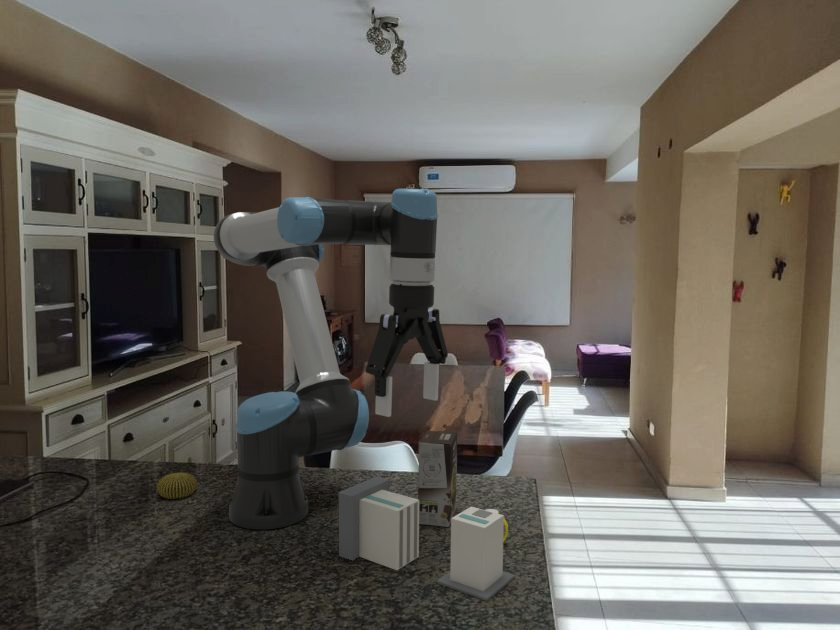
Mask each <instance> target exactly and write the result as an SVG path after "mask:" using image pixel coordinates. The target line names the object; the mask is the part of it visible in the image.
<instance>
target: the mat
mask: <svg viewBox="0 0 840 630" xmlns="http://www.w3.org/2000/svg"><path fill="white" fill-rule="evenodd" d="M515 578H516V575H515V574H513V573H510V572H509V571H504V570H503V574H502V577H501V578H499V579H498V580H497V581H496V582H494V583H493V584H492V585H491V586H489V587H488V588H487V589H486V590H485V591H481V590H478V589H475V588H472V587H469V586H467V585H464V584H461V583H458V582H455V581H452V580H450V571H448V572H447V573H446V574H444V575H443V576H442V577H440V578H439V579H437V580H436V583H437V584H439V585H441V586H444V587H447V588H449V589H452V590H456V591H458V592H459V593H460V592H461V593H462V594H466V595H469V596H471V597H473V598H476V599H479V600H483V601H484V602H488V601H489V600H490V599H492V598H493V597H494V596H495V595H496V594H498V592H500V591H501V590H502V589H503V588H504V587H506V586H507V585H508V584H509V583H510V582H512V581H513V580H514V579H515Z"/></svg>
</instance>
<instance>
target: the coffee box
mask: <svg viewBox="0 0 840 630" xmlns="http://www.w3.org/2000/svg"><path fill="white" fill-rule="evenodd" d="M457 462H458V432H457V431H450V430H449V431H448V430H447V431H446V430H426V432H425V433H424V434H423V436H422V437H421V438H420V440H419V441H418V471H417V472H418V474H417V475H418V476H417V477H418V481H417V482H418V485H417V486H418V487H417V496H418V497H417V499H418V500H419V525H425V526H436V527H444V528H449V527H451V518H453V517H454V516H455V513H456V511H457V482H458V481H457V476H458V474H457V471H458V470H457V467H458V466H457V465H458V463H457Z"/></svg>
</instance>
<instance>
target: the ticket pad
mask: <svg viewBox="0 0 840 630" xmlns="http://www.w3.org/2000/svg"><path fill="white" fill-rule="evenodd" d="M337 495H338V557H341V558H343V559H346V560H348V559H349V560H348V561H351V560H352V561H351V562H353V561H355V560H357V559H358V558H363V559H364V560H366V561H367V560H368V561H371V562H374V563H375V564H378V565H381V566H385V567H386V568H390V569H392V570H394V571H399V570H400V569H402V568H403V567H404V566H407V565H408V564H410V563H411V562H412V561H415V560H416V559H417V558H419V557H420V555H419V554H420V552H419V550H420V539H419V538H420V524H419V500H418V498H414V497H410V496H407V495H404V494H403V495H402V494H399V493H396V492H393V491H390V479H388V478H385V477H381V476H377V475H376V476H373V477H371V478H369V479H367V480H365V481H362V482H359V483H357V484H355V485H353V486H349V487H347V488H346V489H343V490H340V491H339V492H338V494H337ZM356 558H357V559H356Z"/></svg>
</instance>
